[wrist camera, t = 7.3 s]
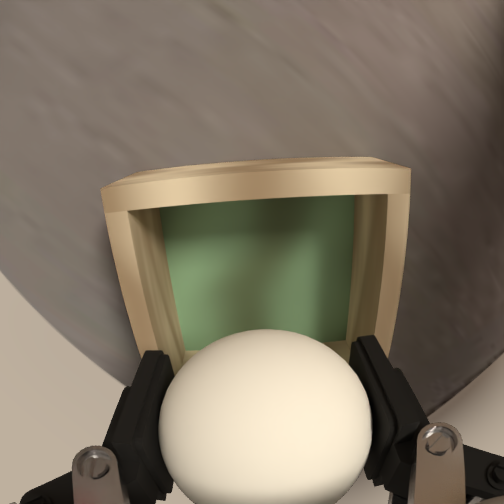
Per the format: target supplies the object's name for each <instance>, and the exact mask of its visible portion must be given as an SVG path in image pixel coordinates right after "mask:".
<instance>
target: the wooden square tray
mask: <svg viewBox="0 0 504 504" xmlns="http://www.w3.org/2000/svg"><path fill="white" fill-rule="evenodd" d="M410 184H411V169H410V168H407V167H404V166H401V165H397V164H394V163H390V162H387V161H384V160H380V159H377V158H373V157H312V158H285V159H265V160H249V161H235V162H223V163H212V164H201V165H191V166H182V167H173V168H165V169H157V170H149V171H142V172H136V173H134V174H132V175H129V176H127V177H125V178H123V179H120V180H118V181H116V182H114V183H112V184H109V185H107V186H105V187H103V188H101V195H102V201H103V207H104V212H105V218H106V223H107V228H108V233H109V238H110V243H111V248H112V252H113V257H114V261H115V266H116V270H117V274H118V278H119V282H120V286H121V290H122V294H123V298H124V302H125V305H126V309H127V313H128V316H129V320H130V323H131V327H132V330H133V333H134V337H135V340H136V343H137V346H138V350H139V353H140V356H141V359H142V357H143V355H144V353H145V351H146V350H162V351H163V352H164V354H168V355H169V357H170V360H171V364H172V368H173V371H174V375H175V376H176V374H177V372H178V371H179V370H180V369H181V368H182V367H183V366H184V364H185V363H186V362H187V361H188V360H189V359H190V358H191V357H192V356H194V355H195V354H196V353H197V352H199V351H200V350H202V349H203V348H205V347H206V346H208V345H209V344H211V343H213V342H215V341H217V340H219V339H221V338H223V337H226V336H229V335H232V334H235V333H240V332H244V331H249V330H258V329H274V330H285V331H290V332H295V333H298V334H302V335H305V336H307V337H310V338H312V339H314V340H316V341H318V342H320V343H322V344H324V345H326V346H327V347H329V348H330V349H332V350H333V351H334V352H335V353H337V354H338V355H339V356H340V357H341V358H343V359H344V360H345V361H346V362H347V364H348V365H349V358H350V350H351V344H352V342H354V341H356V339H357V337H360V336H367V335H375V337H376V338H377V340H378V342H379V344H380V346H381V347H382V349H383V351H384V353H385V355H386V356H387V358H388V356H389V351H390V347H391V342H392V337H393V332H394V326H395V321H396V315H397V310H398V304H399V297H400V291H401V284H402V277H403V269H404V261H405V252H406V243H407V232H408V220H409V205H410Z"/></svg>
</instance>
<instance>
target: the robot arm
mask: <svg viewBox="0 0 504 504" xmlns="http://www.w3.org/2000/svg"><path fill="white" fill-rule="evenodd" d="M349 366H350V367H351V368H352V370H353V371H354V372H355V373H356V375H357V376H358V378H359V380H360V382H361V384H362V385H363V387H364V389H365V391H366V393H367V397H368V400H369V403H370V407H371V411H372V421H373V433H372V442H371V447H370V451H369V454H368V458H367V461H366V463H365V465H364V471H365V474H366V477H367V479H368V480H371V479H372V480H373V483H374V486H379V485H383V484H384V488H385V490H387V491H390V494H389V500H388V504H504V457H502V456H498V455H495V454H491V453H489V452H485V451H482V450H479V449H476V448H473V447H470V446H467V445H464V444H463V443H462V438H461V434H460V433H459V432H458V430H457V429H456V428H455V427H453V426H452V425H449V424H447V423H441V422H437V423H431V424H430V423H429V421H428V419H427V417H426V415H425V413H424V411H423V409H422V407H421V406H420V404H419V402H418V400H417V398H416V396H415V394H414V393H413V391H412V389H411V387H410V385H409V383H408V382H407V380H406V378H405V376H404V374H403V373H402V371H401V370H400V369H399V368H395V369H393V367H392V366H391V364H390V362H389V360H388V358H387V356H386V355H385V353H384V351H383V349H382V347H381V346H380V344H379V342H378V340H377V338H376V337H375V335H367V336H360V337H357V339H356V341H354V342H352V344H351V350H350V358H349ZM174 377H175V375H174V371H173V368H172V364H171V360H170V357H169V355H168V354H164V352H163V351H162V350H146V351H145V353H144V355H143V357H142V360H141V362H140V365H139V368H138V370H137V373H136V375H135V378H134V380H133V383H132V386H131V387H125V388H124V390H123V392H122V394H121V397H120V400H119V402H118V405H117V407H116V410H115V412H114V415H113V418H112V420H111V423H110V426H109V429H108V431H107V434H106V437H105V439H104V442H103V445H102V446H90V447H87V448H84V449H83V450H81V451H80V452H79V453H78V454H77V455H76V456H75V458H74V459H73V463H72V471H70V472H68V473H66V474H64V475H62V476H60V477H58V478H56V479H54V480H52V481H49V482H47V483H45V484H43V485H41V486H38V487H36V488H34V489H32V490H30V491H28V492H27V493H25V494H24V496H23V497H22V499H21V501H20V504H155V503H156V500H163V501H165V500H166V494H167V493H171V492H172V488H173V482H174V480H173V478H172V477H171V475H170V474H169V472H168V469H167V467H166V465H165V462H164V460H163V457H162V454H161V449H160V444H159V435H158V424H159V416H160V409H161V405H162V403H163V400H164V397H165V394H166V391H167V389H168V387H169V385H170V384H171V382H172V380H173V379H174ZM10 504H16V503H15V502H13V503H10Z"/></svg>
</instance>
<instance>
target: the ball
mask: <svg viewBox="0 0 504 504" xmlns="http://www.w3.org/2000/svg"><path fill="white" fill-rule="evenodd" d="M372 433H373V421H372V411H371V407H370V403H369V400H368V397H367V393H366V391H365V389H364V387H363V385H362V384H361V382H360V380H359V378H358V376H357V375H356V373H355V372H354V371H353V370H352V368H351V367H350V366H349V365H348V364H347V362H346V361H345V360H344V359H343V358H341V357H340V356H339V355H338V354H337V353H335V352H334V351H333V350H332V349H330V348H329V347H327V346H326V345H324V344H322V343H320V342H318V341H316V340H314V339H312V338H310V337H307V336H305V335H302V334H298V333H295V332H290V331H285V330H274V329H258V330H249V331H244V332H240V333H235V334H232V335H229V336H226V337H223V338H221V339H219V340H217V341H215V342H213V343H211V344H209V345H208V346H206V347H205V348H203V349H202V350H200V351H199V352H197V353H196V354H195V355H194V356H192V357H191V358H190V359H189V360H188V361H187V362H186V363H185V364H184V366H183V367H182V368H181V369H180V370H179V371H178V372H177V374H176V376H175V377H174V379H173V380H172V382H171V384H170V385H169V387H168V389H167V391H166V394H165V397H164V400H163V403H162V405H161V409H160V416H159V424H158V435H159V444H160V449H161V454H162V457H163V460H164V462H165V465H166V467H167V469H168V472H169V474H170V475H171V477H172V478H173V480H174V482H175V483H176V484H177V486H178V487H179V489H180V490H181V491H182V492H183V493H184V494H185V495H186V496H187V497H188V498H189V499H190V500H191V501H192V502H193V503H195V504H335V503H336V502H337V501H338V500H339V499H341V497H343V496H344V495H345V493H346V492H347V491H348V490H349V489H350V488H351V487H352V486H353V484H354V483H355V481H356V480H357V478H358V477H359V475H360V473H361V471H362V469H363V467H364V465H365V463H366V461H367V458H368V454H369V451H370V447H371V442H372Z"/></svg>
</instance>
